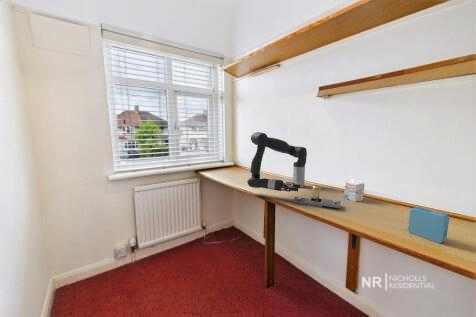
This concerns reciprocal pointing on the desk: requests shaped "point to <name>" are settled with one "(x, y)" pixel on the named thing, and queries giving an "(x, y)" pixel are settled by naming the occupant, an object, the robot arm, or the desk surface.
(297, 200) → the chain ends
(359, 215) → the desk surface
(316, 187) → the link pin
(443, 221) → the data package
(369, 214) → the desk surface
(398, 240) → the desk surface
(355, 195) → the ink box
